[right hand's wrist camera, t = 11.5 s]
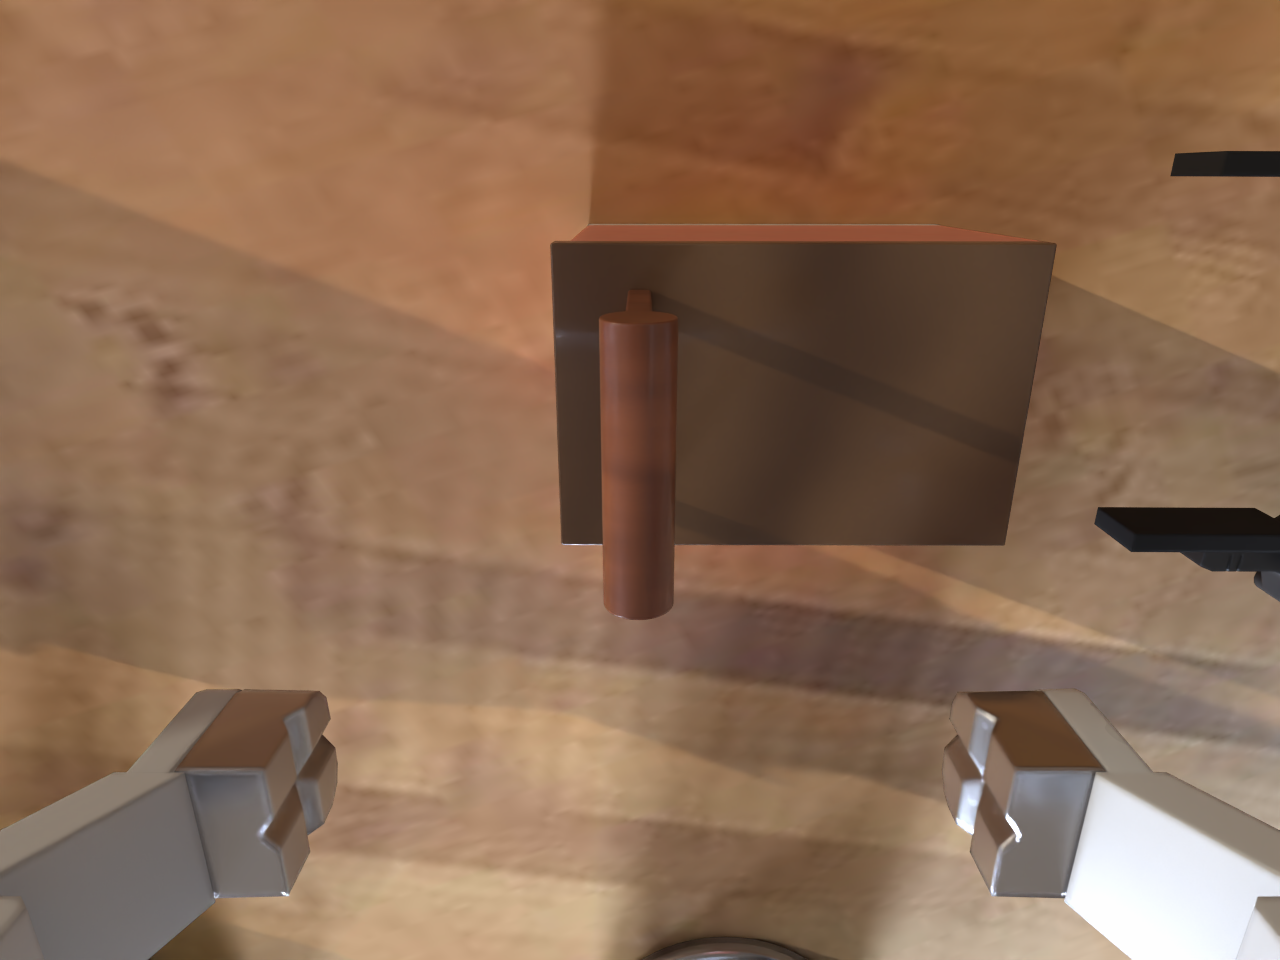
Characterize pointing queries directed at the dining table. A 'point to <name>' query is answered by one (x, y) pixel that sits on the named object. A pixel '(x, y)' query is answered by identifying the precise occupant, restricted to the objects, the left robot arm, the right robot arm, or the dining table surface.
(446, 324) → the dining table surface
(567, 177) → the dining table surface
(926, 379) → the lid
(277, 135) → the dining table surface
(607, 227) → the chest
